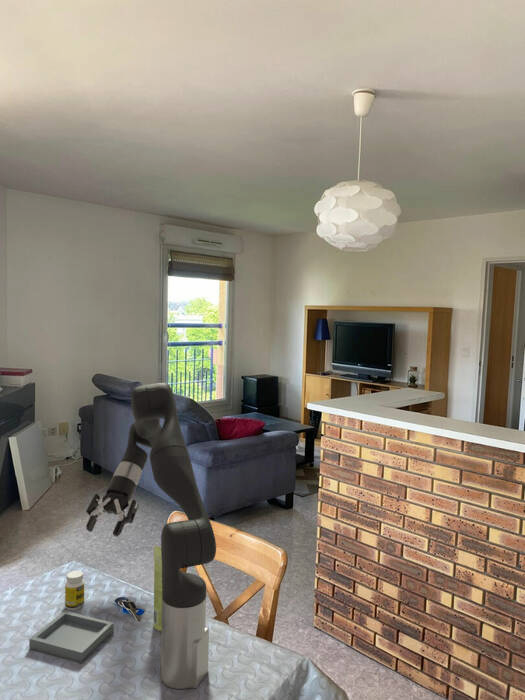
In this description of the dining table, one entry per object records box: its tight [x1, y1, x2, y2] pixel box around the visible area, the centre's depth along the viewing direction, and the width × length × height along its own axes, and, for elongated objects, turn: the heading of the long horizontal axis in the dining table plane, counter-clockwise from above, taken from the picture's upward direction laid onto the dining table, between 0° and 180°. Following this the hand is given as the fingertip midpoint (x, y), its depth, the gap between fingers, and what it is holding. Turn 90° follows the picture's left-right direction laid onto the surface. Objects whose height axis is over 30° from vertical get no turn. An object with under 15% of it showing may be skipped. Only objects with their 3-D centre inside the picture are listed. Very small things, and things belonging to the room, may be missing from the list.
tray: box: [28, 610, 115, 664], centre depth 123 cm, size 14×12×2 cm
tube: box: [152, 545, 162, 632], centre depth 129 cm, size 6×5×20 cm
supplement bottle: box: [64, 570, 85, 611], centre depth 138 cm, size 5×5×8 cm
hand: (101, 533), depth 148 cm, fingers open, 8 cm apart
